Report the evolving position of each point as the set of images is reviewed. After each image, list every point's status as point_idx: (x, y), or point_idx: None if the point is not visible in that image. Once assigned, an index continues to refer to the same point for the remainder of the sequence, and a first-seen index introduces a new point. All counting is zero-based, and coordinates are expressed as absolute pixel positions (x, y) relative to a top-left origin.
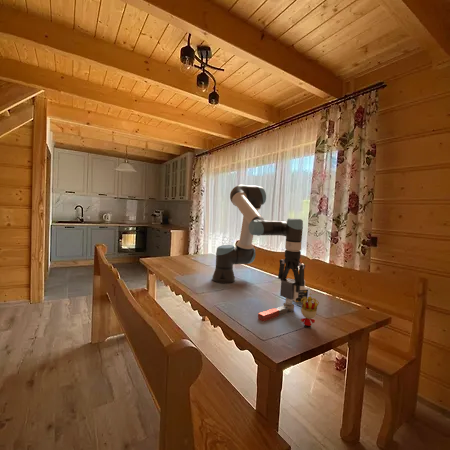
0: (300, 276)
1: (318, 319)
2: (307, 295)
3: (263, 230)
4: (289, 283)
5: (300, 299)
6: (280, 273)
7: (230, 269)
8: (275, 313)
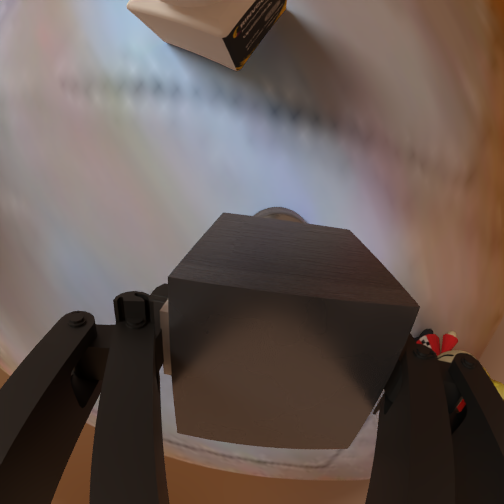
0: (467, 488)
1: (446, 228)
2: None
3: None
4: (310, 440)
5: (257, 38)
6: (79, 432)
7: None
8: None
